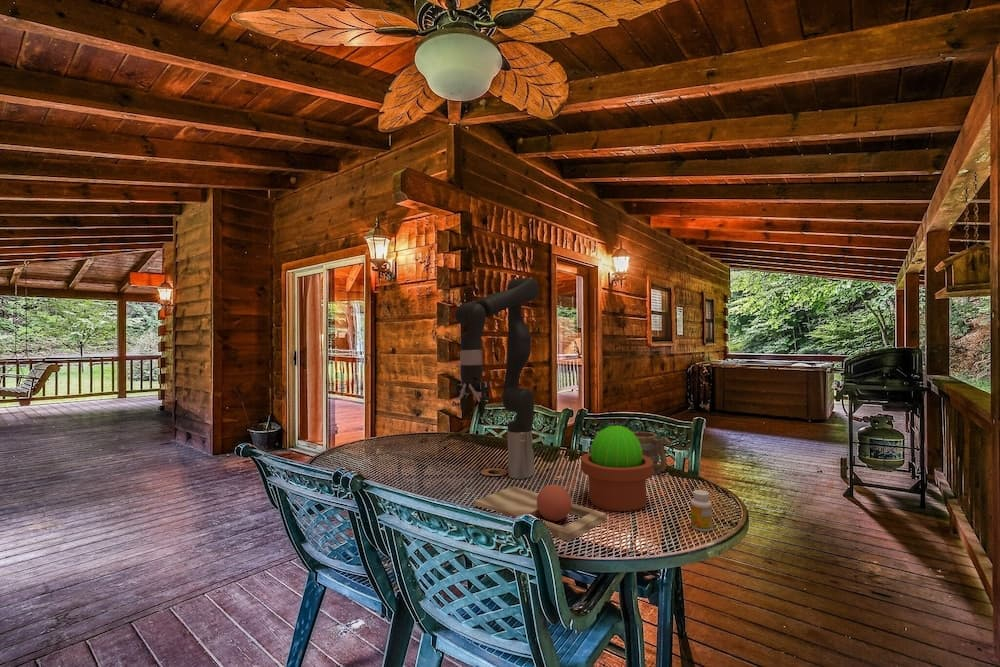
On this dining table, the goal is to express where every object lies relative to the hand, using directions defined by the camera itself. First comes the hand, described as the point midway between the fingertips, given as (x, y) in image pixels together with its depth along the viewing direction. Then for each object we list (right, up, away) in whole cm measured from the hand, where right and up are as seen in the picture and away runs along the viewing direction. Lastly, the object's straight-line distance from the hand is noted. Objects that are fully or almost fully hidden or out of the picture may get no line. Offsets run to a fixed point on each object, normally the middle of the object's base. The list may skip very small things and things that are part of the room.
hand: (472, 411), depth 155 cm
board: (+21, -28, -17) cm, 38 cm away
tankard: (+67, -27, +21) cm, 75 cm away
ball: (+25, -23, -21) cm, 40 cm away
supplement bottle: (+65, -27, -29) cm, 76 cm away
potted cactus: (+47, -28, -8) cm, 55 cm away
